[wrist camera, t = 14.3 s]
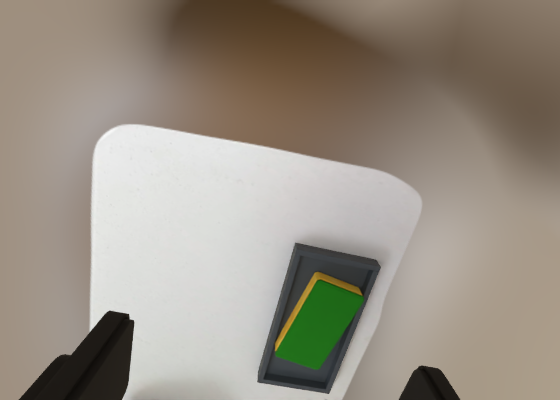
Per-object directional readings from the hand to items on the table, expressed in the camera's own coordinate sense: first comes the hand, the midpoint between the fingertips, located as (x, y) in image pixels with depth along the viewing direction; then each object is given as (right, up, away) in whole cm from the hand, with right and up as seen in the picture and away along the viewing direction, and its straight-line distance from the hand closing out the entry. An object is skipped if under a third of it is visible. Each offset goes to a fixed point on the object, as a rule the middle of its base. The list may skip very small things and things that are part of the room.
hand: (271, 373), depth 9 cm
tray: (+5, -12, +32) cm, 35 cm away
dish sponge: (+6, -11, +31) cm, 33 cm away
